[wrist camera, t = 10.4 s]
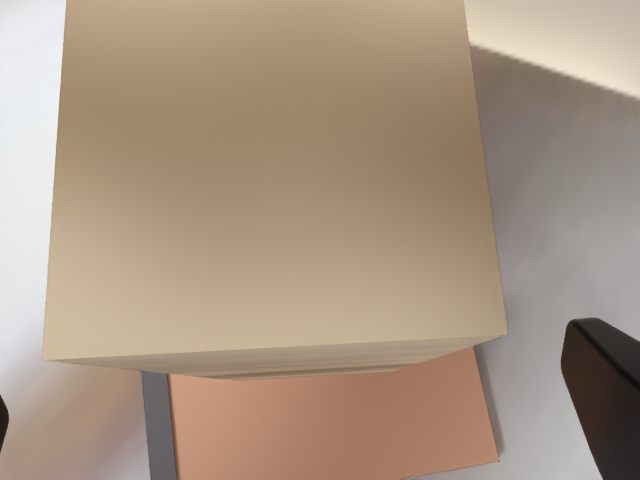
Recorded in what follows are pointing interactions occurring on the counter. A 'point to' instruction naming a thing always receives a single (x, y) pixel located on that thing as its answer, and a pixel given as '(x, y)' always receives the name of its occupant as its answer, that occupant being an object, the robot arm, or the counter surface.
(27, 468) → the counter surface
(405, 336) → the beech block
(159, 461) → the mat
